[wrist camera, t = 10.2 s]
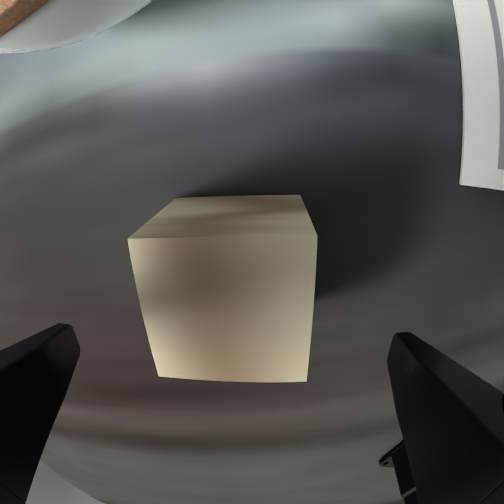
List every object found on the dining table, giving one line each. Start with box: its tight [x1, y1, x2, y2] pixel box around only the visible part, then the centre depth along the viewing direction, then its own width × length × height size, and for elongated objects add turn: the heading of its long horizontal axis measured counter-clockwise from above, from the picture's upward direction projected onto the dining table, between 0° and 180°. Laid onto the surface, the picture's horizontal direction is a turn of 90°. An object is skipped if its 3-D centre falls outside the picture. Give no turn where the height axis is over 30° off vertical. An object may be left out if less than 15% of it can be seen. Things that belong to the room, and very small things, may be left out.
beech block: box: [128, 195, 318, 382], centre depth 11 cm, size 5×5×5 cm
